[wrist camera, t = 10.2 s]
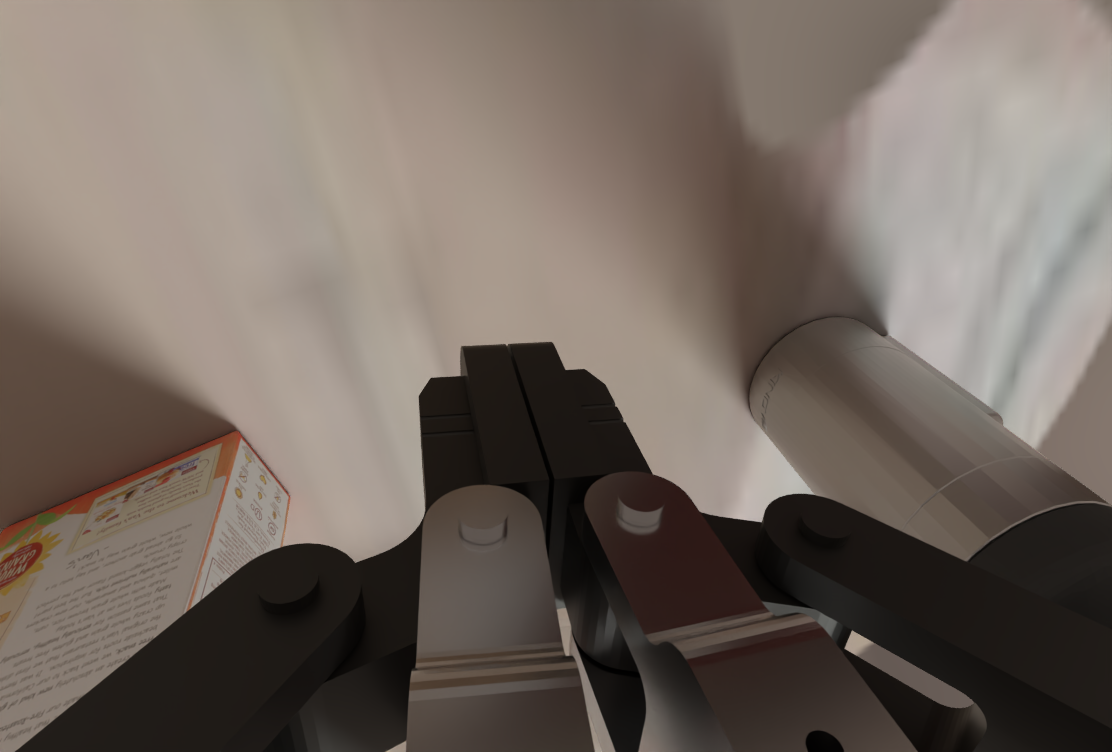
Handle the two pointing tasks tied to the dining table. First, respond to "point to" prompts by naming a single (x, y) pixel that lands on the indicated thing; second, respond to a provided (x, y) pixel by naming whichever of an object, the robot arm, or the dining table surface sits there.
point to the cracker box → (123, 572)
